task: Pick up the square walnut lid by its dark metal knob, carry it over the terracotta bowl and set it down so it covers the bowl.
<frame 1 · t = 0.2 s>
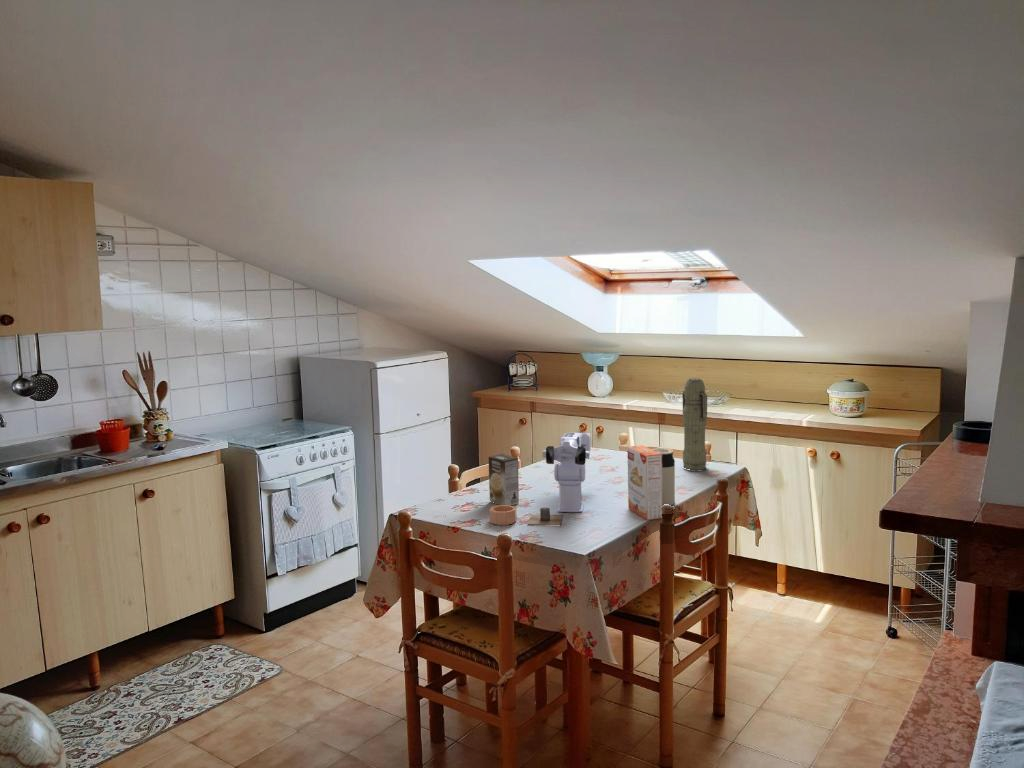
hand: (563, 460, 245), 21 cm above the table, tool horizontal, fingers open, 7 cm apart
travel mug: (662, 504, 270), on the table
cracker box: (644, 514, 259), on the table
thermos: (694, 468, 316), on the table
coffee box: (504, 503, 276), on the table
walnut lid: (545, 522, 255), on the table
terracotta bowl: (503, 521, 255), on the table
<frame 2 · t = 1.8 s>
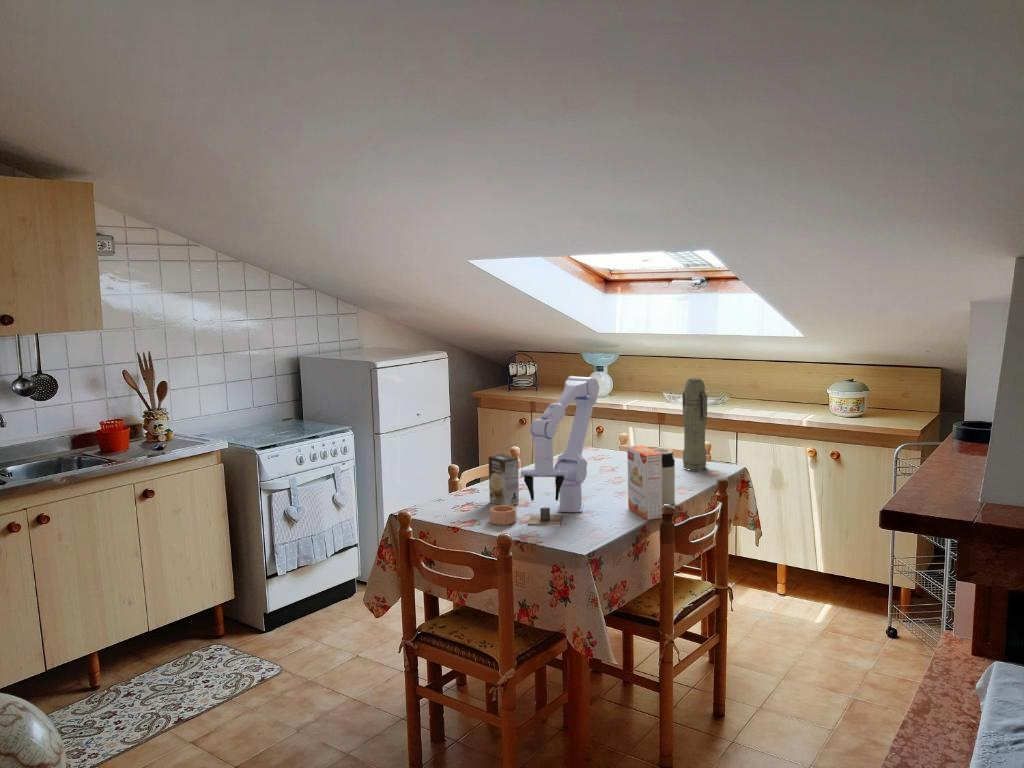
hand: (544, 499, 254), 7 cm above the table, tool pointing down, fingers open, 7 cm apart
nothing on the table moved.
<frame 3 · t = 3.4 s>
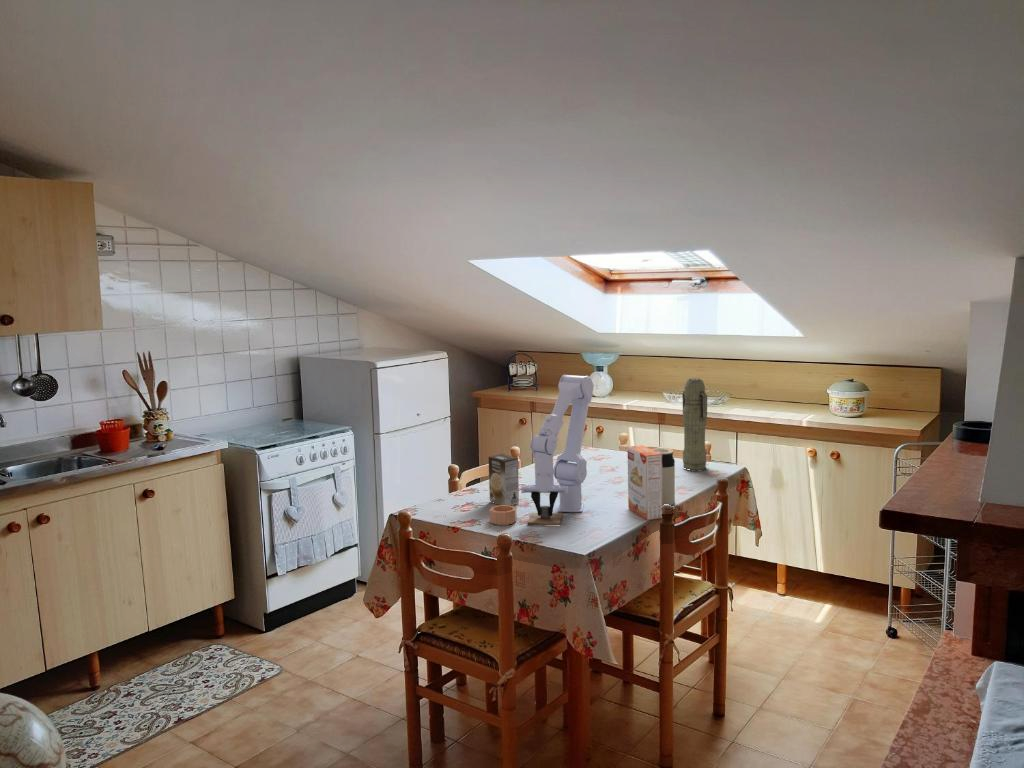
hand: (545, 515, 255), 2 cm above the table, tool pointing down, fingers closed on walnut lid, 3 cm apart
walnut lid: (545, 520, 255), on the table, touching gripper
everything else where it was.
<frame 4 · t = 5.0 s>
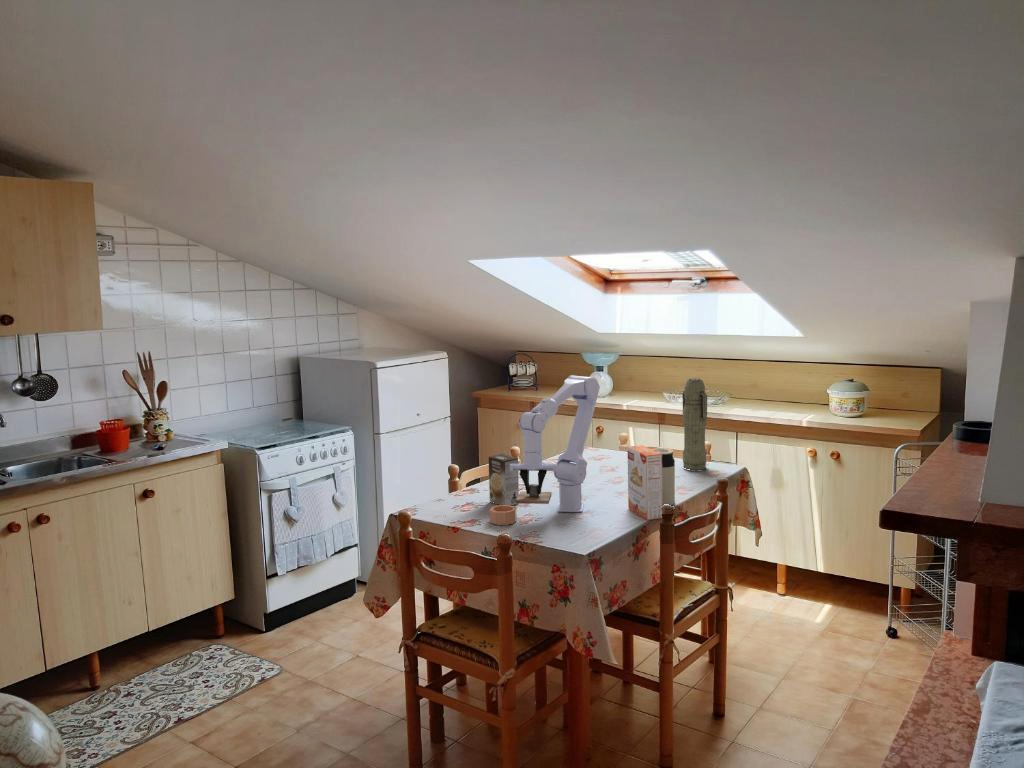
hand: (533, 493, 254), 9 cm above the table, tool pointing down, fingers closed on walnut lid, 3 cm apart
walnut lid: (534, 499, 254), point 7 cm above the table, touching gripper
everything else where it was.
when the fingers open (7 cm above the table, at t = 6.8 s): walnut lid stays where it is, resting on terracotta bowl.
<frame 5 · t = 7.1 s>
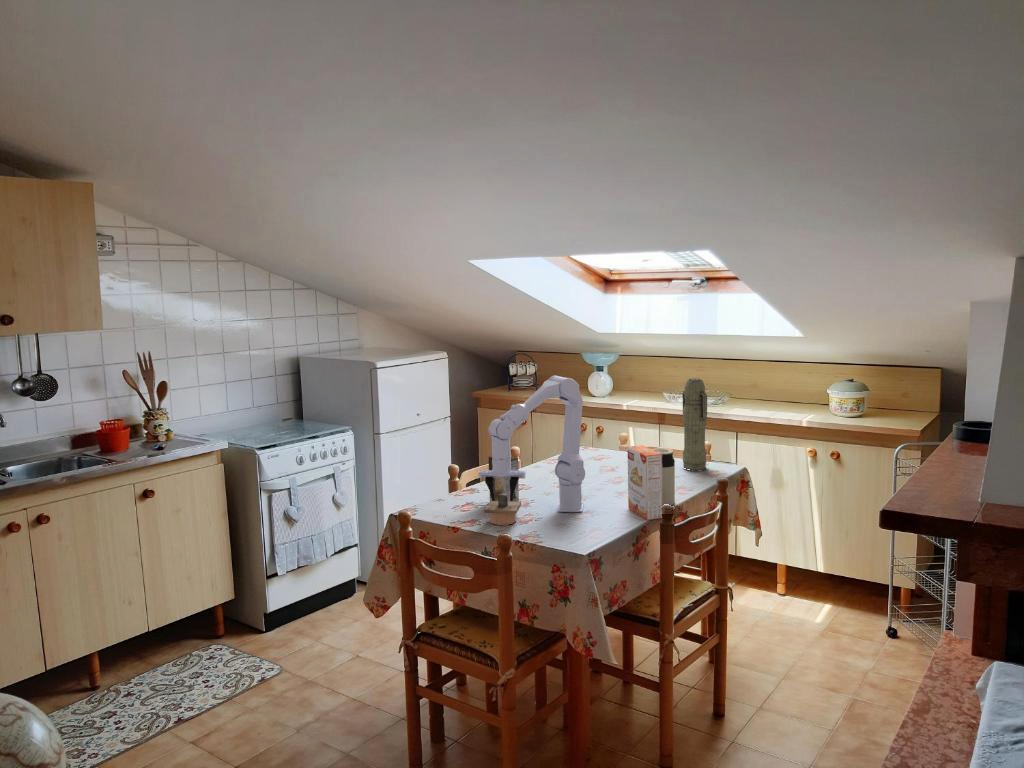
hand: (502, 500, 254), 7 cm above the table, tool pointing down, fingers open, 5 cm apart
walnut lid: (503, 508, 255), point 4 cm above the table, touching terracotta bowl
everything else where it was.
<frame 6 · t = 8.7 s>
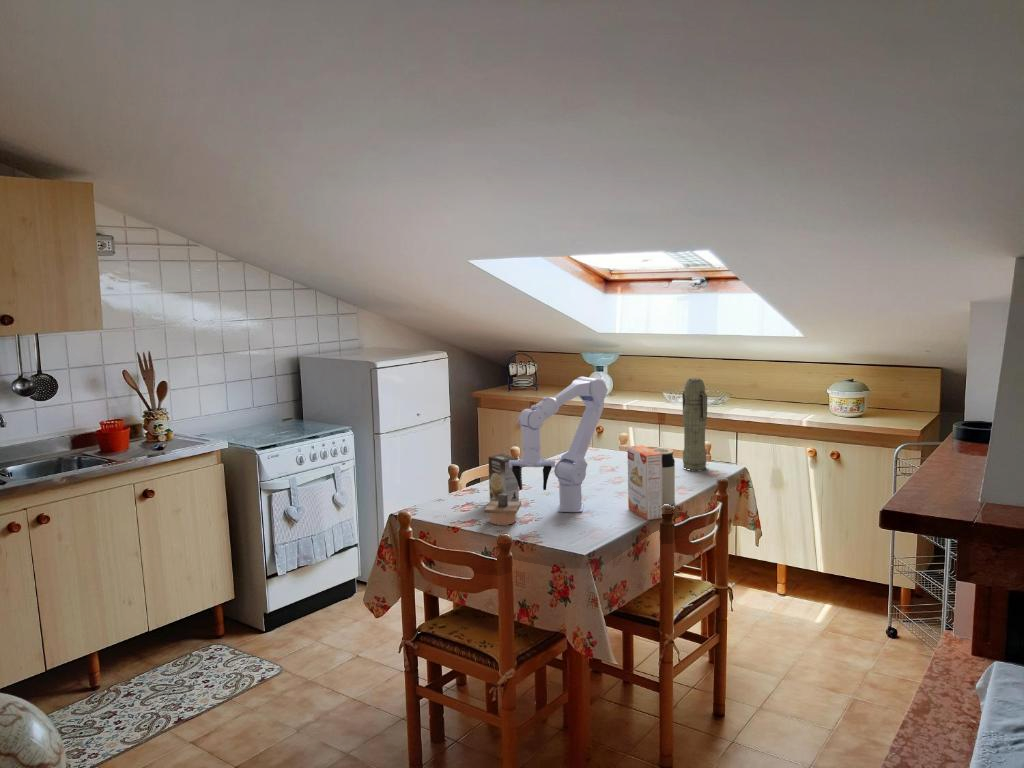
hand: (532, 489, 257), 9 cm above the table, tool pointing down, fingers open, 7 cm apart
nothing on the table moved.
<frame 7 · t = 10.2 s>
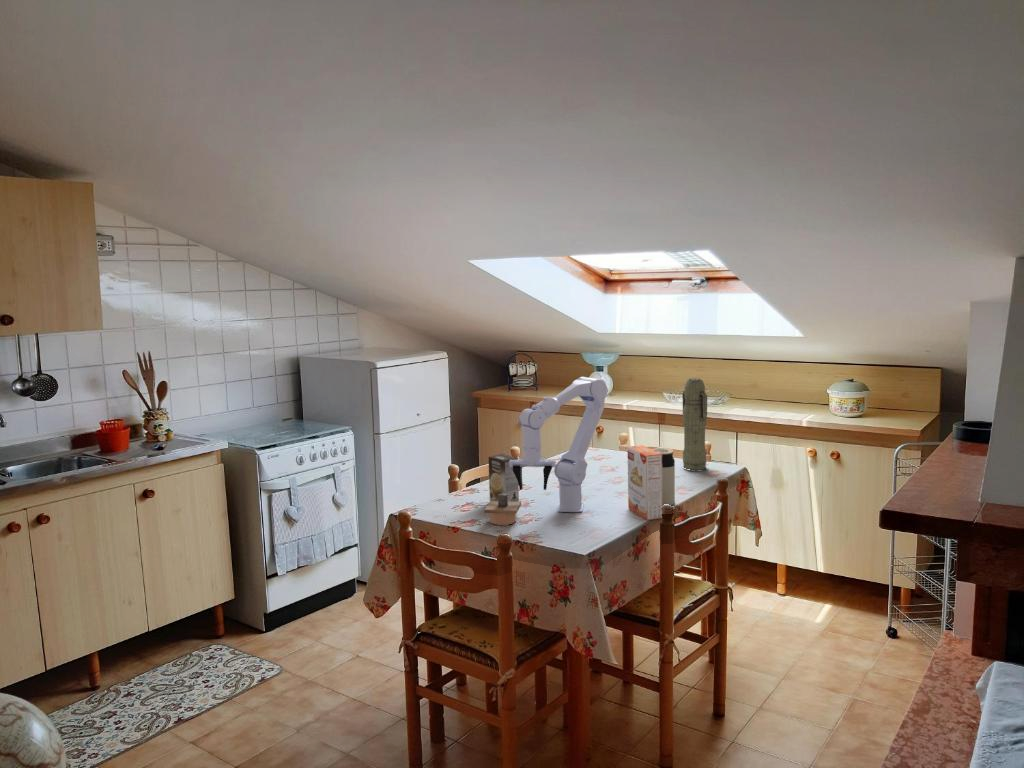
hand: (533, 488, 257), 9 cm above the table, tool pointing down, fingers open, 7 cm apart
nothing on the table moved.
at the end: walnut lid 0.1 cm off-centre on the terracotta bowl, point 4.3 cm above the terracotta bowl's base; walnut lid tilted 0°; the gripper is holding nothing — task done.
